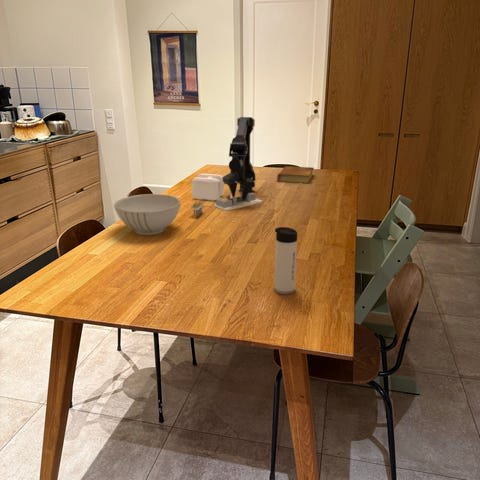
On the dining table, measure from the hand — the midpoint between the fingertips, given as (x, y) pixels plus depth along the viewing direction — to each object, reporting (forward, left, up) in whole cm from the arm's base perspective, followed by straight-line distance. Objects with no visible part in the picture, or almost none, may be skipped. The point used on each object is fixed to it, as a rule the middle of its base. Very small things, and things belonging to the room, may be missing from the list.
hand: (238, 198), depth 227 cm
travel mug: (+47, +82, -3) cm, 95 cm away
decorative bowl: (+53, +7, -3) cm, 54 cm away
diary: (-62, -22, -4) cm, 66 cm away
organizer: (+5, -19, -3) cm, 20 cm away
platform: (+26, +2, -4) cm, 26 cm away
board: (0, 0, -3) cm, 3 cm away
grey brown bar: (0, 0, -2) cm, 2 cm away
